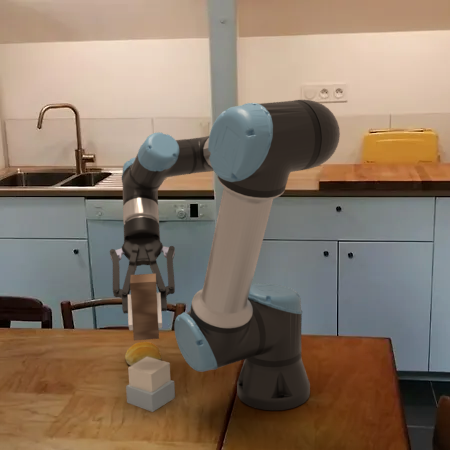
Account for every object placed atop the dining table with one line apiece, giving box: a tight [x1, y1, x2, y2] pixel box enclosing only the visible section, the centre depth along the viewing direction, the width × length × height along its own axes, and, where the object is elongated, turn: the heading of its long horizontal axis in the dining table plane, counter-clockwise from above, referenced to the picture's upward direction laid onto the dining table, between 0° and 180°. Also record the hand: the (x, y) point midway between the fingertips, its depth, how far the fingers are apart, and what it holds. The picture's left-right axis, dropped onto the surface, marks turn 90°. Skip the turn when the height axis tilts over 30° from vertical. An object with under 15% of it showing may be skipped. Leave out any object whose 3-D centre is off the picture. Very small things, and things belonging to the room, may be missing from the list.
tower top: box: [127, 357, 171, 392], centre depth 144 cm, size 6×6×4 cm
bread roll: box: [124, 341, 162, 367], centre depth 164 cm, size 8×9×4 cm
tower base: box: [125, 379, 176, 413], centre depth 145 cm, size 7×7×4 cm
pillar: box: [130, 273, 160, 341], centre depth 141 cm, size 5×5×12 cm
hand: (145, 326), depth 138 cm, fingers closed on pillar, 5 cm apart
